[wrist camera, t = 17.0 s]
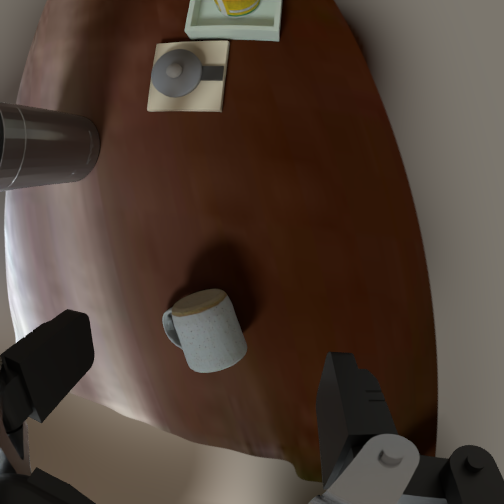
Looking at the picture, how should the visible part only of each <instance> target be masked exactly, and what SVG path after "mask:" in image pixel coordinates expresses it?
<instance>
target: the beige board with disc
mask: <svg viewBox="0 0 504 504" xmlns="http://www.w3.org/2000/svg"><path fill="white" fill-rule="evenodd" d="M229 45H230V43H229V41H191V42H175V43H163V44H157V46H156V52H155V57H154V64H153V69H152V74H151V83H150V90H149V98H148V106H147V110H148V111H150V112H154V111H215V112H222V105H223V96H224V87H225V78H226V69H227V61H228V53H229Z"/></svg>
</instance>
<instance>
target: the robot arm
mask: <svg viewBox="0 0 504 504" xmlns="http://www.w3.org/2000/svg"><path fill="white" fill-rule="evenodd" d="M99 149H100V140H99V134H98V131H97V129H96V127H95V125H94V124H93V123H92V122H91V121H90V120H89V119H87V118H85V117H82V116H77V115H73V114H68V113H63V112H58V111H53V110H47V109H42V108H36V107H30V106H24V105H17V104H10V103H2V102H0V191H7V190H13V189H20V188H27V187H35V186H42V185H51V184H60V183H69V182H76V181H79V180H81V179H83V178H85V177H86V176H87V175H88V174H89V173H90V171H91V170H92V169H93V167H94V165H95V163H96V161H97V158H98V155H99ZM93 361H94V347H93V341H92V334H91V328H90V321H89V317H88V315H87V314H85V313H81V312H77V311H73V310H69V309H67V310H65V311H63V312H62V313H61V314H59V315H58V316H56V317H55V318H54V319H52V320H51V321H48V322H46V323H43V324H41V325H40V326H38V327H37V328H36V329H34V330H33V332H30V333H29V334H27V335H26V337H25V338H24V337H23V338H22V339H21V340H19V341H18V342H17V343H15V344H14V345H13V346H11V347H10V348H9V349H7V350H6V351H5V352H3V353H2V354H1V355H0V504H96V503H94V502H93V501H91V500H90V499H88V498H87V497H86V496H84V495H83V494H82V493H80V492H79V491H78V490H76V489H75V488H74V487H72V486H71V485H70V484H67V483H66V482H63V481H62V480H60V479H58V478H56V477H54V476H52V475H50V474H48V473H46V472H44V471H42V470H41V469H39V468H36V469H35V470H34V471H33V473H31V468H30V458H29V442H28V426H27V423H26V421H25V420H26V419H27V418H28V417H30V418H32V419H34V420H36V421H38V422H40V423H42V422H43V421H44V420H45V419H46V417H47V416H48V415H49V414H50V413H51V412H52V411H53V410H54V408H55V407H56V406H57V405H58V404H59V403H60V401H61V400H62V399H63V398H64V397H65V396H66V395H67V394H68V393H69V391H70V390H71V389H72V388H73V387H74V386H75V385H76V384H77V382H78V381H79V380H80V379H81V378H82V377H83V376H84V375H85V374H86V372H87V371H88V370H89V369H90V368H91V366H92V364H93ZM316 413H317V422H318V433H319V443H320V454H321V466H322V479H323V489H328V490H327V491H326V492H325V493H324V494H323V495H322V496H320V495H318V496H316V497H315V498H314V499H312V500H311V501H310V502H309V503H308V504H504V480H503V478H502V475H501V473H500V471H499V469H498V467H497V465H496V463H495V461H494V459H493V457H492V456H491V454H489V453H488V452H487V451H486V450H484V449H483V448H481V447H478V446H473V445H465V446H462V447H459V448H458V449H456V450H455V451H454V452H453V454H452V455H451V456H450V458H449V459H446V458H437V457H429V456H424V455H420V454H419V452H418V450H417V448H416V446H415V445H414V444H413V443H412V442H411V441H409V440H408V439H406V438H404V437H402V436H399V435H398V433H397V430H396V428H395V425H394V422H393V420H392V417H391V414H390V411H389V409H388V406H387V404H386V402H385V398H384V396H383V393H381V388H380V385H379V383H378V380H377V379H376V378H375V377H374V376H373V375H372V374H371V373H370V372H369V371H368V370H367V369H358V367H357V364H356V361H355V358H354V355H353V354H352V353H341V352H328V354H327V357H326V360H325V365H324V369H323V373H322V377H321V380H320V384H319V388H318V392H317V399H316Z"/></svg>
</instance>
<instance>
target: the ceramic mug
mask: <svg viewBox="0 0 504 504" xmlns="http://www.w3.org/2000/svg"><path fill="white" fill-rule="evenodd" d="M171 313H172V317H171ZM172 319H173V322H172ZM162 320H163V327H164V330H165V332H166V334H167V336H168V337H169V339H170V340H171V341H172V342H173V343H174V344H175V345H176V346H178V347H179V348H181V349H183V352H184V354H185V357H186V360H187V363H188V365H189V367H190V368H191V369H192V370H194V371H197V372H202V373H208V372H215V371H219V370H223V369H225V368H228V367H230V366H232V365H234V364H235V363H237V362H238V361H239V360H241V359H242V358H243V357H244V355H245V354H246V352H247V344H246V342H245V339H244V336H243V334H242V331H241V328H240V325H239V322H238V320H237V317H236V314H235V311H234V308H233V305H232V303H231V301H230V299H229V297H228V295H227V294H226V292H224V291H223V290H220V289H208V290H203V291H199V292H196V293H193V294H191V295H188V296H186V297H184V298H182V299H180V300H179V301H177V302H176V303H175V304H174V306H173V307H172V308H170V309H169V310H167V311H166V312H165V313H164V315H163V319H162ZM173 324H174V325H173ZM174 327H175V328H174ZM175 329H176V331H175Z"/></svg>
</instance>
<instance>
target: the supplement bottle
mask: <svg viewBox="0 0 504 504" xmlns="http://www.w3.org/2000/svg"><path fill="white" fill-rule="evenodd" d="M214 2H215V4H216V6H217V8H218V10H219V11H220V12H221V13H222V14H223V15H225V16H227V17H231V18H242V17H246V16H249V15H251V14H252V13H254V12H255V11H256V10H257V9H258V7H259V5H260V0H214Z"/></svg>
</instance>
